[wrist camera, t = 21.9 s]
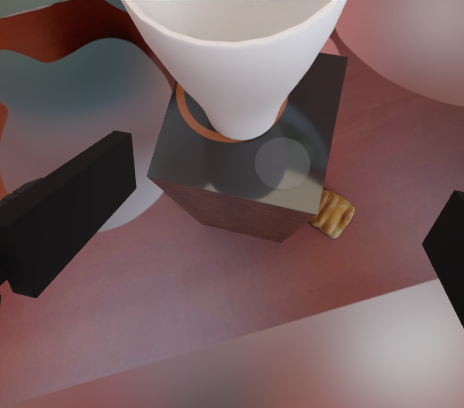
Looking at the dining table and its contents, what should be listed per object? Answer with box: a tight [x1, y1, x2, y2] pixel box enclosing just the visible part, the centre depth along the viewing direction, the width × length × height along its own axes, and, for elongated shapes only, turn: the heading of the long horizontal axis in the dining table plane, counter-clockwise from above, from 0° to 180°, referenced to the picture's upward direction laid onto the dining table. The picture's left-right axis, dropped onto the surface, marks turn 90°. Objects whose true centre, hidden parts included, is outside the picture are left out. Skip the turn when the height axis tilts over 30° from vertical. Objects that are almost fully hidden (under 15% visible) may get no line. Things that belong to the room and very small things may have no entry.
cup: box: [121, 0, 347, 140], centre depth 19 cm, size 10×10×14 cm
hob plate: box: [147, 52, 348, 215], centre depth 25 cm, size 14×14×1 cm
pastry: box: [309, 189, 355, 238], centre depth 50 cm, size 9×7×4 cm
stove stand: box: [148, 177, 316, 243], centre depth 39 cm, size 14×14×28 cm
